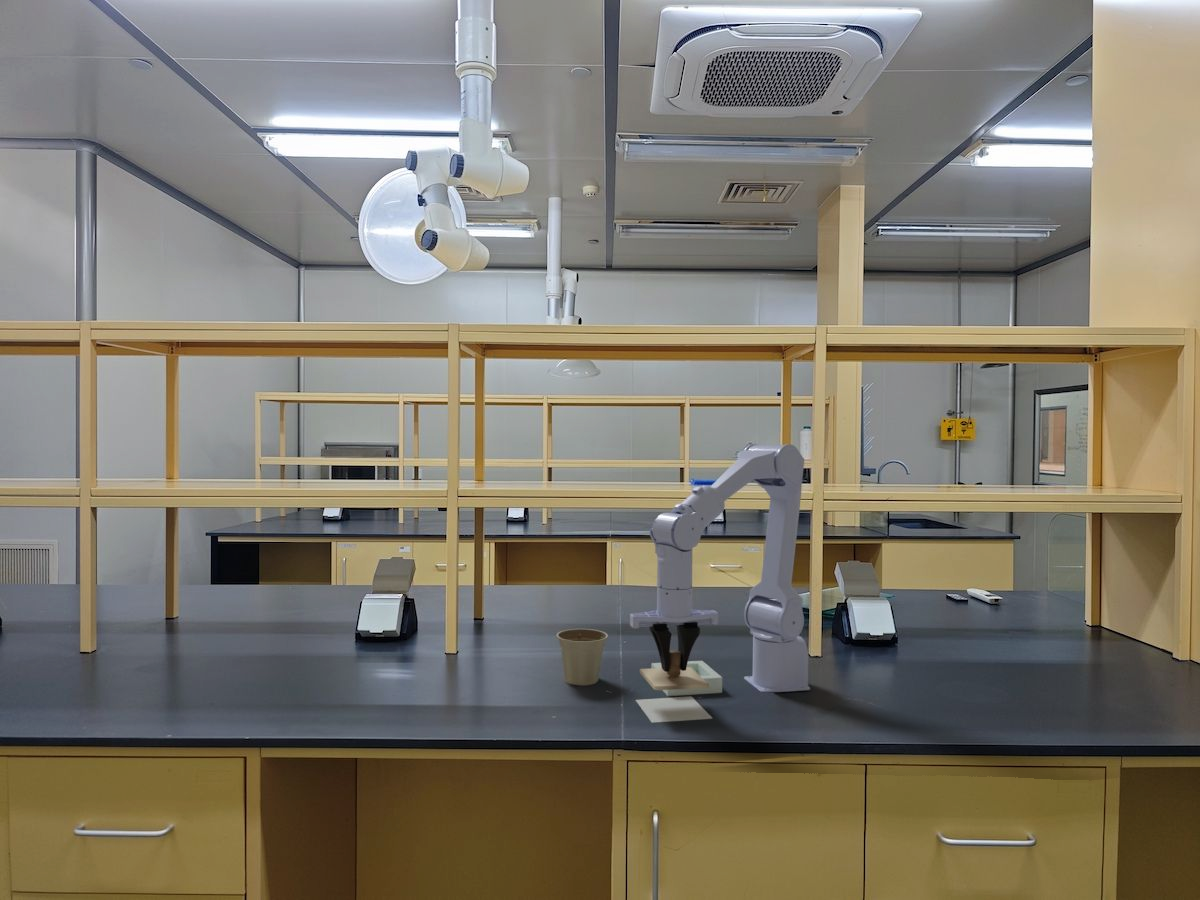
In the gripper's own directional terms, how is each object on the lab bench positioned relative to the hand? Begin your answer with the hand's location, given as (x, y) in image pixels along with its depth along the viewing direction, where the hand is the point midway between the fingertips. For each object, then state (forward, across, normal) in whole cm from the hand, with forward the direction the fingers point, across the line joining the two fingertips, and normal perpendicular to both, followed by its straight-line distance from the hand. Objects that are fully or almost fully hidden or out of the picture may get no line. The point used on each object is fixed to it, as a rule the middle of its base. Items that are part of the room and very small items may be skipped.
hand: (673, 669), depth 116 cm
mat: (+7, 0, 0) cm, 7 cm away
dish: (+7, -6, -11) cm, 14 cm away
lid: (+2, 0, 0) cm, 2 cm away
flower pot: (+7, +12, -17) cm, 22 cm away
